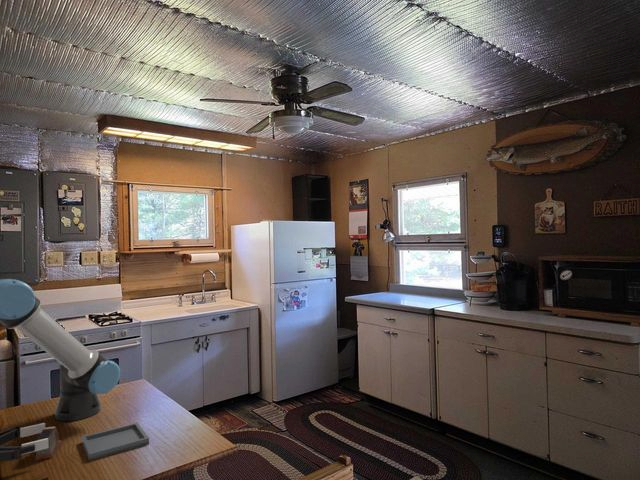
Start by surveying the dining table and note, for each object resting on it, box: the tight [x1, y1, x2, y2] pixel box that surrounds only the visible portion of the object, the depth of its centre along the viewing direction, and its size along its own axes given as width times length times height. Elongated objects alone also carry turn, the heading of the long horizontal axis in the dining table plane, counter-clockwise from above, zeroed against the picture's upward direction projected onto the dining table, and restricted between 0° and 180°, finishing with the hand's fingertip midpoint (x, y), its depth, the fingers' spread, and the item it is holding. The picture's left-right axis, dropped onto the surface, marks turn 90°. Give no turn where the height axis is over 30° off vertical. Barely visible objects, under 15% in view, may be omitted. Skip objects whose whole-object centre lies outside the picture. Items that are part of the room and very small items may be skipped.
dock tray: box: [81, 422, 150, 462], centre depth 138 cm, size 15×17×2 cm
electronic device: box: [35, 426, 63, 461], centre depth 133 cm, size 4×10×8 cm, turn 15°
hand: (46, 434), depth 132 cm, fingers open, 13 cm apart
